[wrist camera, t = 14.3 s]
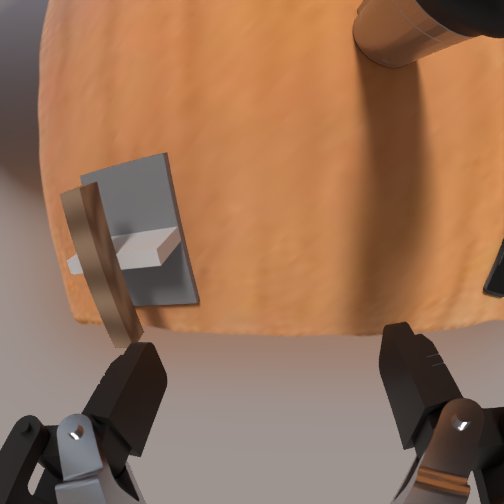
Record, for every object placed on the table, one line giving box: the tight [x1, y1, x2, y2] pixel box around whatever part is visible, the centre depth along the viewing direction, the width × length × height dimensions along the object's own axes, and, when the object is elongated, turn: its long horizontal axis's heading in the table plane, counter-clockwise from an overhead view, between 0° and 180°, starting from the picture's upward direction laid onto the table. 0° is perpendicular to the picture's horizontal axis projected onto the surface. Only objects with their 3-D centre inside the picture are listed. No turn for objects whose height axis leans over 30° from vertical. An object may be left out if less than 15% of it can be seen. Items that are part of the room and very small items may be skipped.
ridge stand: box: [67, 152, 199, 306], centre depth 37 cm, size 22×14×10 cm, turn 8°
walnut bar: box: [60, 182, 144, 348], centre depth 31 cm, size 20×3×4 cm, turn 8°
